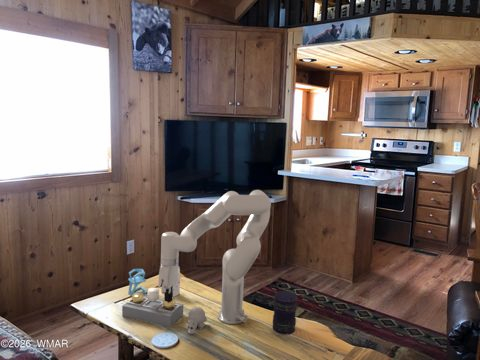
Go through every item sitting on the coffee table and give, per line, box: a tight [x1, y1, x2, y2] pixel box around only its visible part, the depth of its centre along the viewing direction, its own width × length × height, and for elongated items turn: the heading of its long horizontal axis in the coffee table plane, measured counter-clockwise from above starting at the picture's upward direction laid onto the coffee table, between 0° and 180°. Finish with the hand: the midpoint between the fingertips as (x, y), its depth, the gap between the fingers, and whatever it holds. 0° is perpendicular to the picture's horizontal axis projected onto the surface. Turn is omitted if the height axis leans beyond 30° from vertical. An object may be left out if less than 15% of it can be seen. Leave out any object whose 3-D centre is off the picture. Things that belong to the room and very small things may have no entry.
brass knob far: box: [131, 292, 145, 304], centre depth 170 cm, size 5×5×3 cm
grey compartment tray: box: [121, 295, 184, 328], centre depth 168 cm, size 24×12×6 cm, turn 72°
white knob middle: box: [147, 287, 160, 301], centre depth 167 cm, size 5×5×4 cm
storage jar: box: [272, 290, 298, 336], centre depth 161 cm, size 10×10×15 cm
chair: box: [127, 268, 148, 297], centre depth 190 cm, size 8×8×12 cm
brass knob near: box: [162, 298, 176, 310], centre depth 165 cm, size 5×5×3 cm
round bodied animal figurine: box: [186, 306, 208, 335], centre depth 158 cm, size 7×12×8 cm, turn 159°
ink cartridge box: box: [161, 265, 181, 298], centre depth 190 cm, size 9×5×15 cm, turn 58°
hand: (168, 300), depth 165 cm, fingers closed
